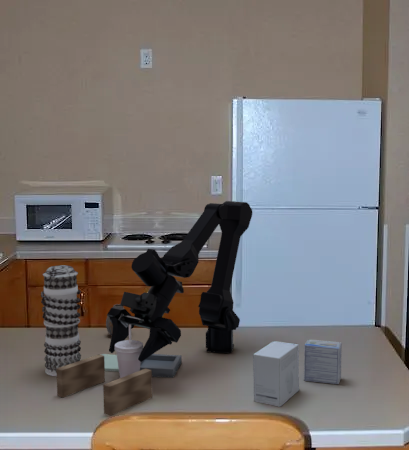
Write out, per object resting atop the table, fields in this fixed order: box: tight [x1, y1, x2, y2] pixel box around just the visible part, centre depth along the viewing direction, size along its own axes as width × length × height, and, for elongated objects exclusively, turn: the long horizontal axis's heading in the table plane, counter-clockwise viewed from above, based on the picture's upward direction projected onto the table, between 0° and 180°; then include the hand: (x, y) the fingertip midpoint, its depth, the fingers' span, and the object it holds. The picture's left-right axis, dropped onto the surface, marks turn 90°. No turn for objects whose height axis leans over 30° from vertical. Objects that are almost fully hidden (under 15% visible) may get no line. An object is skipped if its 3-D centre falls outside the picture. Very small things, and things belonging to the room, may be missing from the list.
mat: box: [100, 353, 119, 373], centre depth 159 cm, size 10×10×1 cm
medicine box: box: [303, 339, 343, 385], centre depth 147 cm, size 8×4×9 cm, turn 71°
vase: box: [105, 303, 125, 337], centre depth 182 cm, size 7×7×9 cm
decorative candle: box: [40, 264, 82, 377], centre depth 153 cm, size 9×9×25 cm
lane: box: [56, 354, 153, 416], centre depth 138 cm, size 12×17×6 cm
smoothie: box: [114, 324, 144, 378], centre depth 143 cm, size 6×6×14 cm
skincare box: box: [252, 340, 300, 408], centre depth 138 cm, size 10×6×10 cm, turn 150°
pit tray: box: [140, 353, 183, 378], centre depth 155 cm, size 10×10×2 cm
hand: (124, 356), depth 142 cm, fingers open, 9 cm apart
